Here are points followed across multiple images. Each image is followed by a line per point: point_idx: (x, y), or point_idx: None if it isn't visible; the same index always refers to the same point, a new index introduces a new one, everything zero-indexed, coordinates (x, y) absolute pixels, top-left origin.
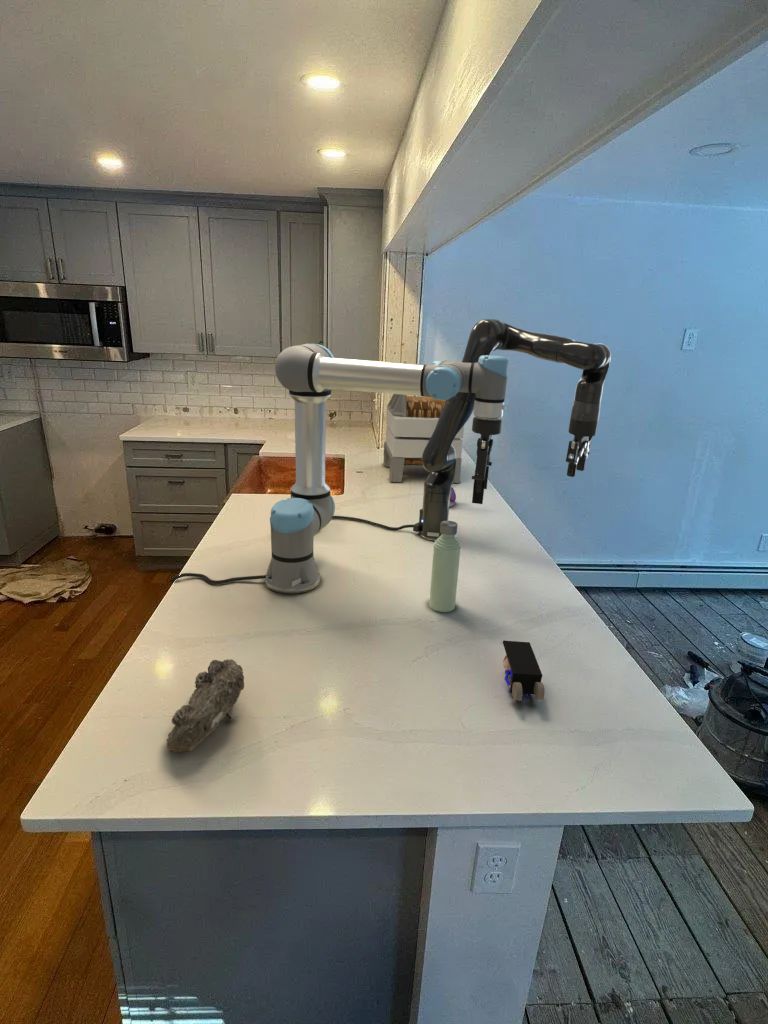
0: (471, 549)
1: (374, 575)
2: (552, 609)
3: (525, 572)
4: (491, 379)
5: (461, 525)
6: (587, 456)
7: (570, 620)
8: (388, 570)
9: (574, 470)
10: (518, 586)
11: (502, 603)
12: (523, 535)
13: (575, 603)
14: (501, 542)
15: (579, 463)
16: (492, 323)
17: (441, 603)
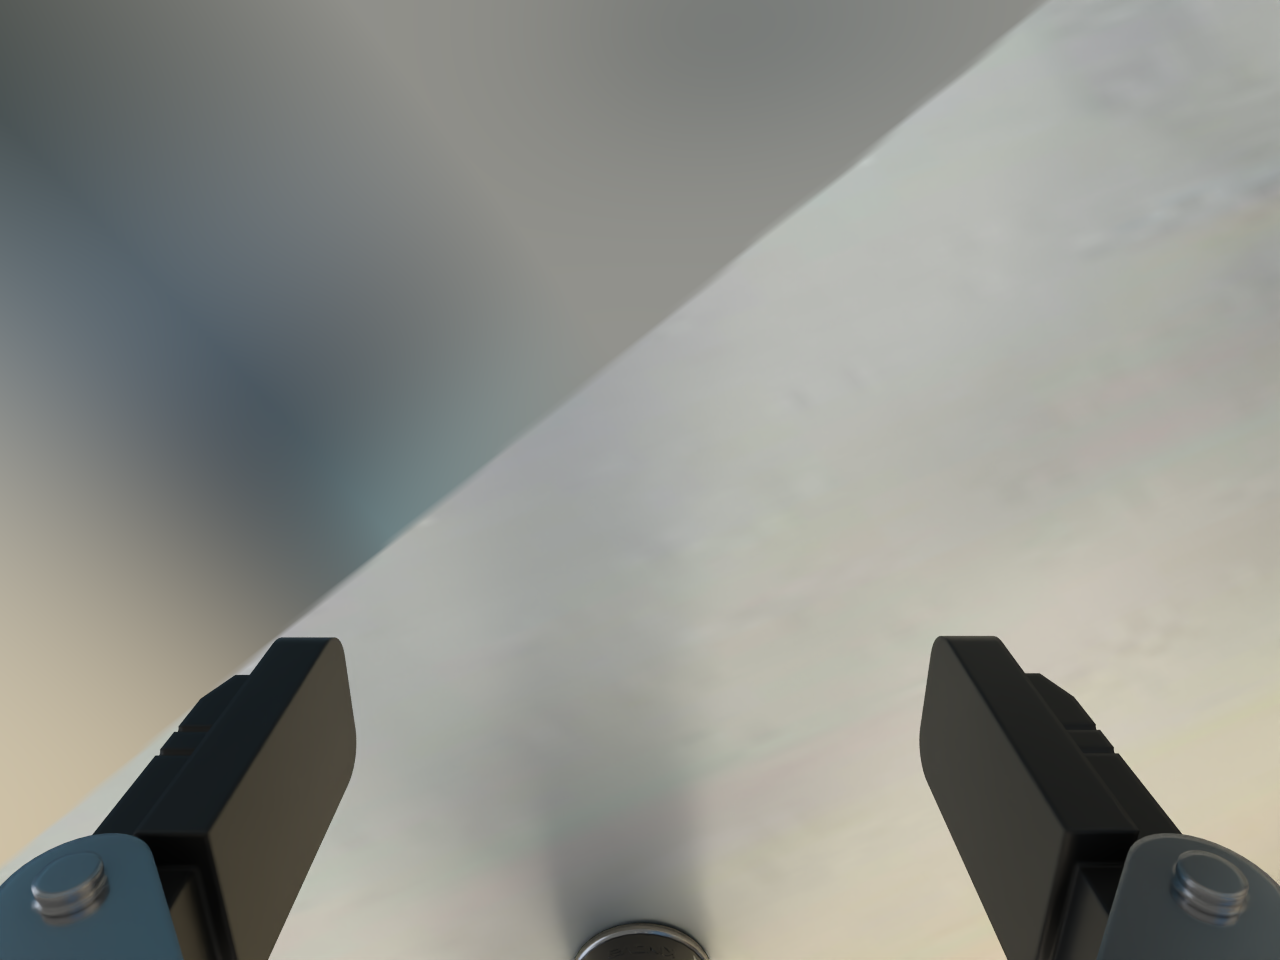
0: (665, 785)
1: None
2: (1157, 159)
3: (764, 461)
4: None
5: (397, 944)
6: (85, 871)
7: (1247, 16)
8: None
9: (1050, 730)
10: (969, 423)
11: (1218, 411)
12: (250, 666)
13: (1007, 65)
14: (454, 714)
15: (301, 829)
16: None
17: None
